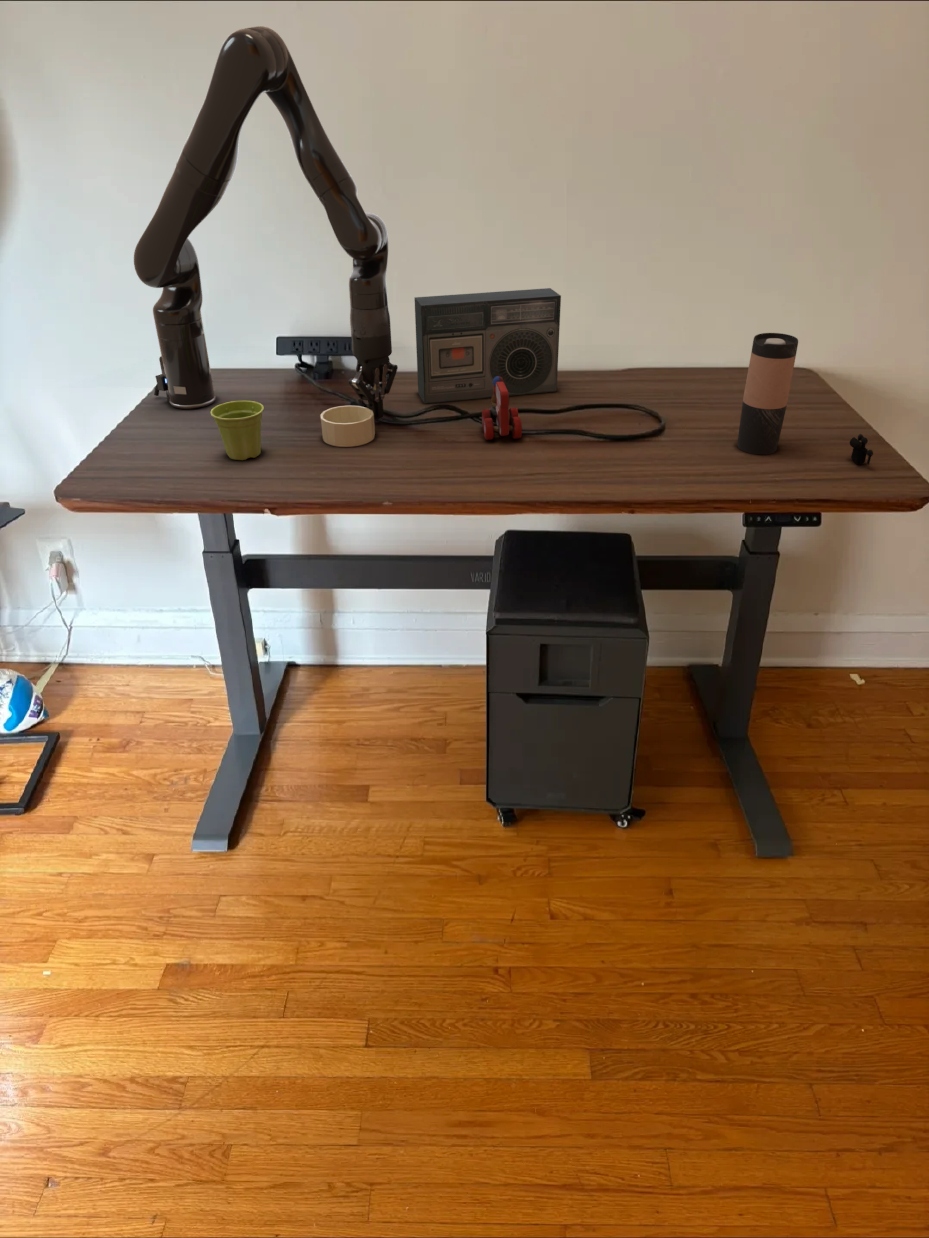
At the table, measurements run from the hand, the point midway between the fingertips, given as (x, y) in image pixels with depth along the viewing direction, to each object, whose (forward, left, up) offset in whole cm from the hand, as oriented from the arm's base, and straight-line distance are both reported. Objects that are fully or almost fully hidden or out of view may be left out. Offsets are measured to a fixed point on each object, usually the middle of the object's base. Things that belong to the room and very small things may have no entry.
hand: (376, 418), depth 179 cm
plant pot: (-11, -26, -1) cm, 28 cm away
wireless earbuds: (+85, +29, -1) cm, 90 cm away
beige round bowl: (0, -9, -1) cm, 9 cm away
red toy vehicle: (+24, +8, -1) cm, 25 cm away
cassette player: (+9, +27, -1) cm, 29 cm away
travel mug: (+68, +27, -1) cm, 73 cm away
